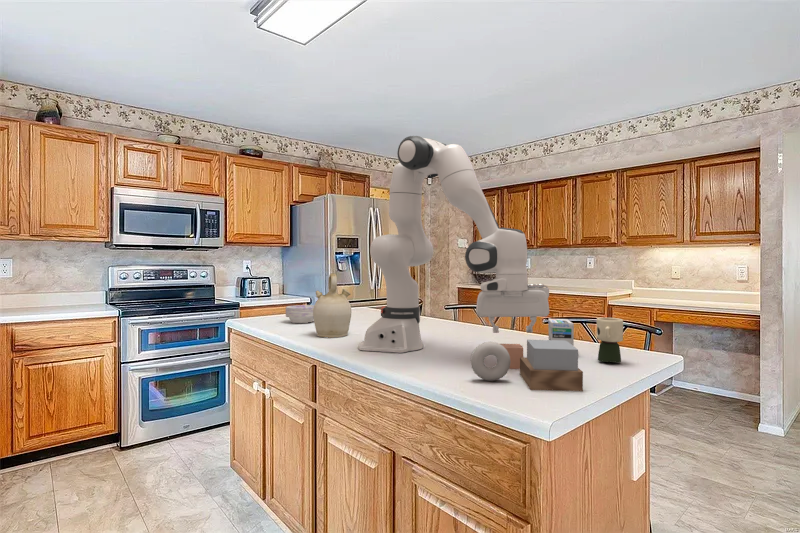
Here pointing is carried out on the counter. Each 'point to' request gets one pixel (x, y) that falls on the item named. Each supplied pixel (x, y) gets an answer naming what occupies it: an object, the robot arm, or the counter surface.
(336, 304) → the jug
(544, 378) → the walnut base block
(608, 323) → the character mug
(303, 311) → the paper bowls
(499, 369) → the donut
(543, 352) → the grey top block
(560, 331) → the light bulb box
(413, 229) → the robot arm
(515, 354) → the terracotta cube
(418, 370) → the counter surface
